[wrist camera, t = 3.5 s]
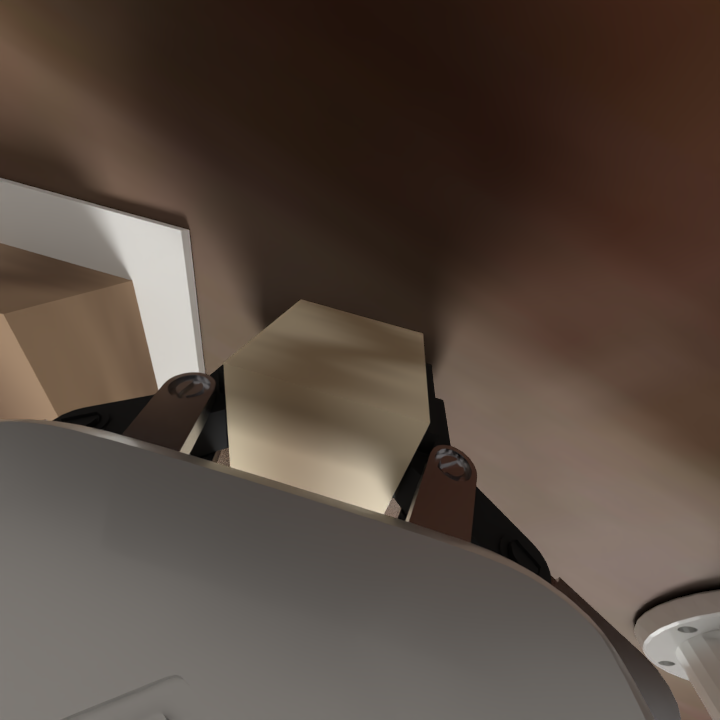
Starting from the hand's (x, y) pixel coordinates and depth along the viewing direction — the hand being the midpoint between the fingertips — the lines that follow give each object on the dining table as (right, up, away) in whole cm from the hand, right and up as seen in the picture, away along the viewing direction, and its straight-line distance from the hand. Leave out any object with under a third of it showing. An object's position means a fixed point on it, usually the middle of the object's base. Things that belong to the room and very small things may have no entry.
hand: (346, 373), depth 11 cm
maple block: (0, 0, 0) cm, 1 cm away
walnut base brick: (-13, +2, +2) cm, 13 cm away
